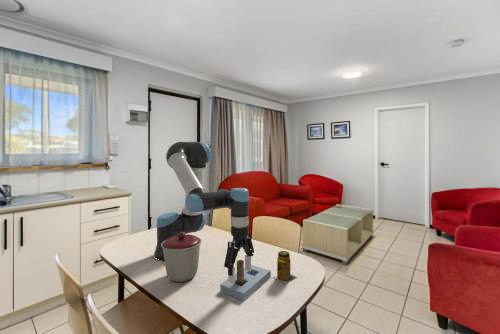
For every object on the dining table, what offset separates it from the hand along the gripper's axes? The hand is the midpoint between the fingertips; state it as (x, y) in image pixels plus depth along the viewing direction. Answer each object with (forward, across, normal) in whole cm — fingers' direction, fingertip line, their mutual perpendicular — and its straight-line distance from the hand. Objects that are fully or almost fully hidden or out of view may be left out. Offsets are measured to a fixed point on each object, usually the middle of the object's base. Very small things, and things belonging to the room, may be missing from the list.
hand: (240, 276), depth 104 cm
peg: (+6, 0, 0) cm, 6 cm away
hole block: (+6, +5, 0) cm, 7 cm away
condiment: (+6, +19, -12) cm, 23 cm away
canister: (+6, -6, +29) cm, 30 cm away
